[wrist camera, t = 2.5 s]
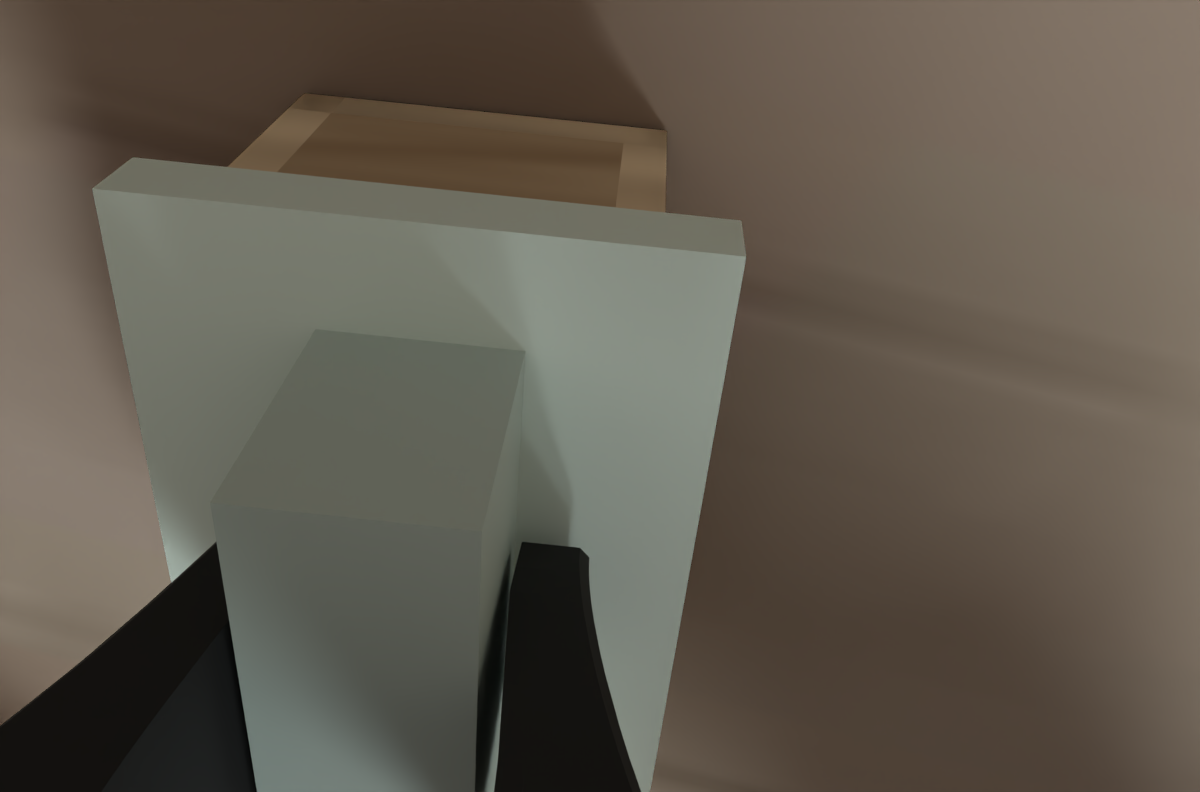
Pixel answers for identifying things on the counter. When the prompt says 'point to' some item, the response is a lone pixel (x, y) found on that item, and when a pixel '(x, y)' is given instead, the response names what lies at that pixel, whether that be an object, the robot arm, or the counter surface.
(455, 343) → the lid
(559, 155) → the box
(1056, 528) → the counter surface
